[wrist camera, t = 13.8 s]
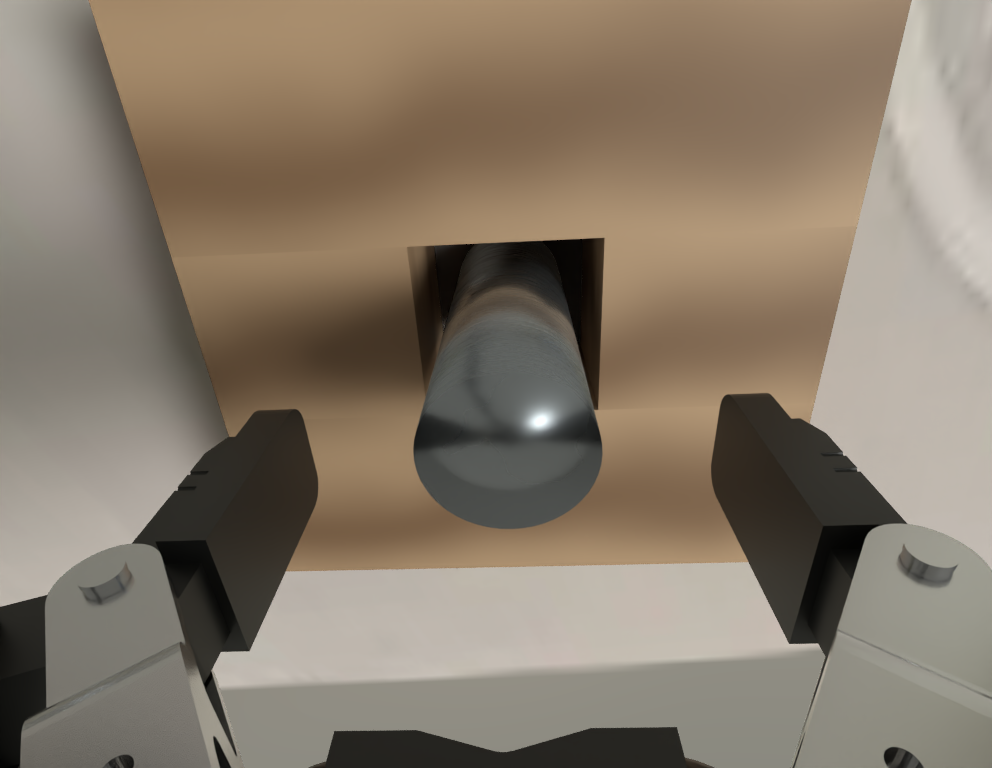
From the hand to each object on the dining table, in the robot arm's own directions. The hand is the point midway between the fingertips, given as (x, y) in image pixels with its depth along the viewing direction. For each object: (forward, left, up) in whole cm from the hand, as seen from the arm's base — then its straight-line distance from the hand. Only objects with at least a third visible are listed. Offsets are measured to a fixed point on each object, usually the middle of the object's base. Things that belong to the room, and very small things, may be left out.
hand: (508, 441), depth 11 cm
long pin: (0, 0, -11) cm, 11 cm away
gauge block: (0, 0, -11) cm, 11 cm away
